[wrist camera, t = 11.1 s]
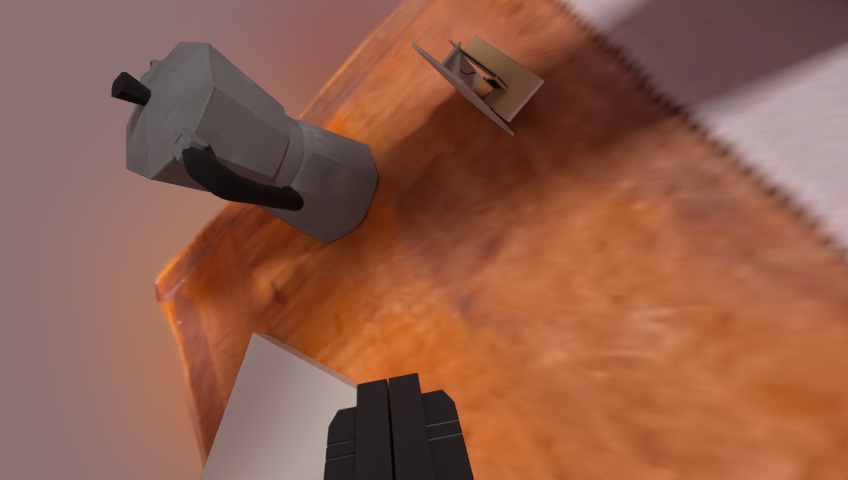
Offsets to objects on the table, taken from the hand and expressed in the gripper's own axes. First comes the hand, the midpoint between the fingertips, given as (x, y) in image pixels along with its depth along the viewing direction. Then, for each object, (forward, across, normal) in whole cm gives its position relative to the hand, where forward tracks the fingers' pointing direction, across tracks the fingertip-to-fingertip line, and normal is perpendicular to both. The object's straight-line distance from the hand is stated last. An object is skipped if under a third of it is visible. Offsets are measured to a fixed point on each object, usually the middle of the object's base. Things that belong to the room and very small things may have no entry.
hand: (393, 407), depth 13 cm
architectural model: (+26, -10, -3) cm, 28 cm away
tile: (+15, +5, +18) cm, 24 cm away
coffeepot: (+31, +3, +3) cm, 31 cm away
